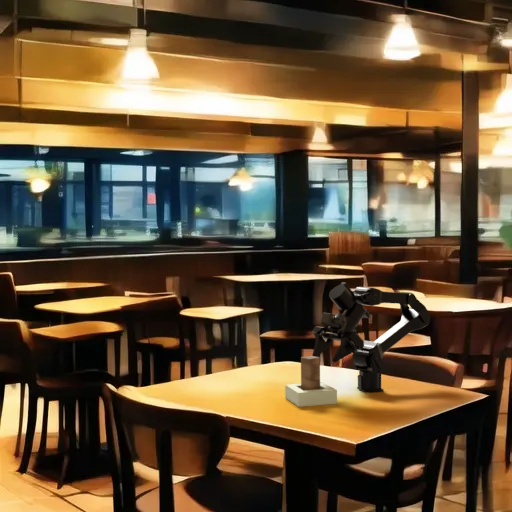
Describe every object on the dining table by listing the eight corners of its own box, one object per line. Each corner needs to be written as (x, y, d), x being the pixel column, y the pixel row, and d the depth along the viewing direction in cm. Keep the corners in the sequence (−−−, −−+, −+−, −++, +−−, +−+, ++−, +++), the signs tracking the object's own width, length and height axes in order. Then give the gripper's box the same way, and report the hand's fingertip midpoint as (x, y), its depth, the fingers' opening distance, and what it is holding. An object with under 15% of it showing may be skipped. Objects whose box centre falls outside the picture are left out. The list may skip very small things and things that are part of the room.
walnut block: (311, 396, 223) (311, 355, 223) (320, 399, 220) (319, 357, 220) (301, 398, 221) (300, 357, 221) (309, 401, 218) (309, 359, 217)
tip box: (322, 394, 228) (322, 381, 228) (337, 403, 217) (336, 390, 216) (285, 397, 225) (285, 384, 225) (298, 406, 213) (298, 393, 213)
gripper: (315, 300, 233) (288, 339, 227) (356, 305, 218) (328, 346, 212) (335, 323, 238) (309, 361, 232) (376, 329, 223) (349, 370, 217)
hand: (323, 359), depth 223 cm, fingers open, 9 cm apart
